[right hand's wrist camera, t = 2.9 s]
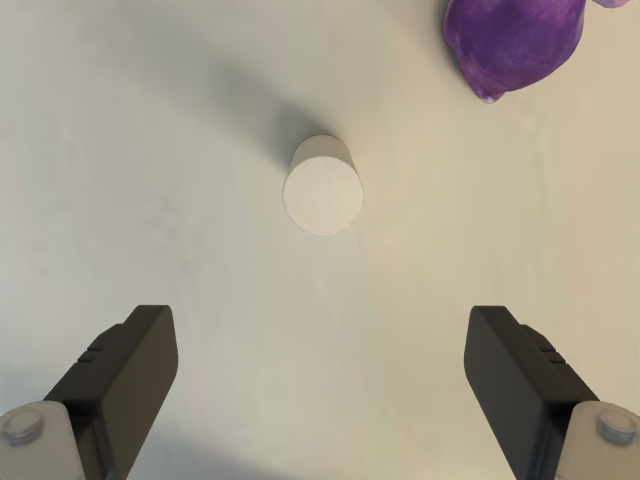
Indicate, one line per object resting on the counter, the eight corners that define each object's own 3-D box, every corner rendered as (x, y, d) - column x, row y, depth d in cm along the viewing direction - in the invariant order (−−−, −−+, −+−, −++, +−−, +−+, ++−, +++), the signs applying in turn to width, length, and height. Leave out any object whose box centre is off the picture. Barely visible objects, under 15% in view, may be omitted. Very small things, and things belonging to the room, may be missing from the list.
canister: (356, 139, 33) (370, 161, 24) (347, 197, 35) (356, 240, 25) (295, 130, 33) (286, 150, 24) (289, 190, 34) (278, 230, 25)
